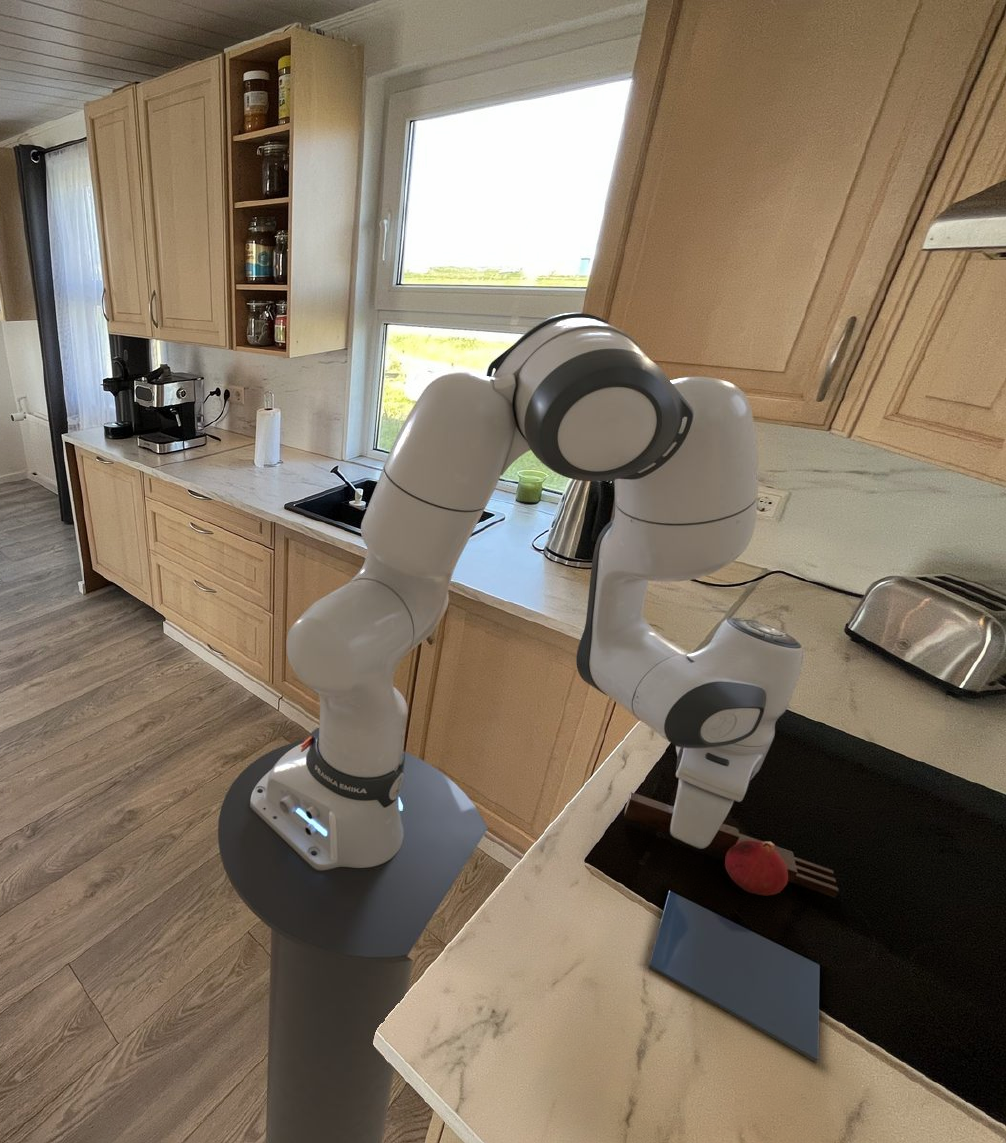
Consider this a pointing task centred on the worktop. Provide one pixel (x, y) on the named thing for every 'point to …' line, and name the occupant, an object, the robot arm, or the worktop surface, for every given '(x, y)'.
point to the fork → (733, 843)
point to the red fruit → (757, 867)
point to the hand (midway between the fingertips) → (686, 824)
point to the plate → (740, 973)
